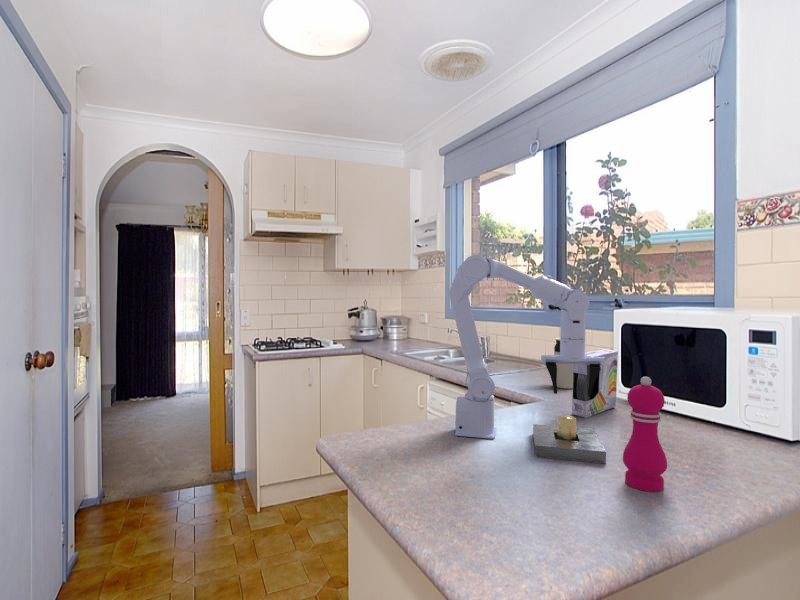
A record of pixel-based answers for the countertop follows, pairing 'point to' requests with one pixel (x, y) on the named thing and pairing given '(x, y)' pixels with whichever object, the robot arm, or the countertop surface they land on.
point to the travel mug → (563, 370)
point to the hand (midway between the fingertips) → (571, 393)
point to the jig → (568, 445)
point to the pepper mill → (645, 439)
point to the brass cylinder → (566, 427)
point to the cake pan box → (595, 386)
